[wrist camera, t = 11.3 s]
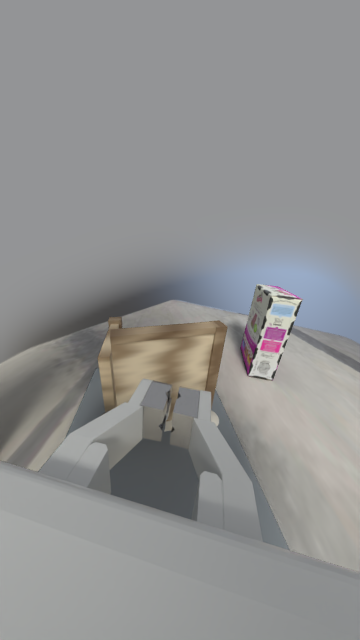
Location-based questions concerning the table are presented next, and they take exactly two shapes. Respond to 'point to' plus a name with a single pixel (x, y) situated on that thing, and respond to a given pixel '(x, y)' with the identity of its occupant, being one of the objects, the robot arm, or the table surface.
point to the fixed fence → (108, 367)
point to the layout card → (170, 467)
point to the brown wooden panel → (167, 357)
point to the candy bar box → (268, 329)
